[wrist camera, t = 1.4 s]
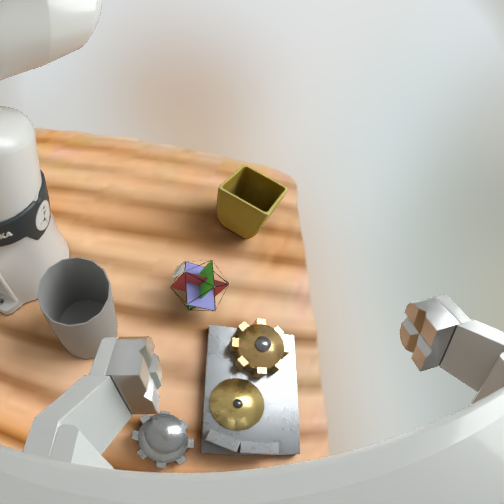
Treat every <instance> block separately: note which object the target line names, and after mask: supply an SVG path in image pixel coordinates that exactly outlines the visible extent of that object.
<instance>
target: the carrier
mask: <svg viewBox="0 0 504 504" xmlns="http://www.w3.org/2000/svg"><path fill="white" fill-rule="evenodd" d="M236 329H237V328H231V327H224V326H217V325H211V324H209V327H208V334H207V348H206V362H205V376H204V392H203V410H202V430H201V453H208V454H224V455H296V454H300V442H299V417H298V396H297V377H296V360H295V344H294V335H287V334H282V335H281V338H282V340H283V343H285V344H289V345H290V353H289V354H288V355H286V356H285V357H282V358H281V360H282V361H283V362H284V363H285V365H284V366H283V367H282V368H281V369H280V370H278V371H277V372H276V373H275V374H273V373H272V372H271V371H270V370H268V371H267V374H266V375H265V376H264V377H263V378H253V371H250V370H248V369H246V368H243V369H242V370H241V371H239V370H238V369H237V368H236V366H235V365H234V363H235V362H236V361H237V358H236V355H235V353H234V352H229V342H230V341H231V339H232V338H239V337H238V336H237V335H236V334H235V331H236Z"/></svg>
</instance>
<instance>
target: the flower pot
mask: <svg viewBox="0 0 504 504" xmlns="http://www.w3.org/2000/svg"><path fill="white" fill-rule="evenodd" d="M286 192H287V187H285V186H284V185H282V184H280V183H278V182H276V181H275V180H273V179H271V178H269V177H267V176H265V175H264V174H262V173H260V172H258V171H256V170H255V169H253V168H251V167H249V166H246V165H242V166H241V167H240V168H239V169H238V170H237V171H236V172H235V173H234V174H233V175H232V176H231V177H229V178H228V179H227V180H226V181H224V182H223V183H222V184H221V185H220V186H219V188H218V197H217V206H216V211H217V216H218V218H219V220H220V222H221V224H222V225H223V226H224V227H226V228H228V229H229V230H231V231H233V232H234V233H236V234H238V235H239V236H241V237H243V238H245V239H249V238H251V237H253V236H255V235H256V234H257V233H258V231H259V230H260V229H261V227H262V226H263V225H264V223H265V222H266V220H267V219H268V218H269V217H270V215H271V214H272V213H273V211H274V210H275V209H276V207H277V206H278V204H279V203H280V201H281V200H282V198H283V196H284V195H285V193H286Z"/></svg>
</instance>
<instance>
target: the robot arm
mask: <svg viewBox="0 0 504 504" xmlns="http://www.w3.org/2000/svg"><path fill="white" fill-rule="evenodd" d="M101 8H102V0H0V80H3V79H5V78H8V77H11V76H13V75H17V74H19V73H22V72H25V71H28V70H31V69H35V68H38V67H41V66H43V65H45V64H47V63H50V62H52V61H54V60H56V59H58V58H61V57H63V56H65V55H67V54H69V53H71V52H73V51H76V50H78V49H80V48H81V47H83V46H84V44H85V43H86V42H87V41H88V39H89V38H90V36H91V35H92V33H93V31H94V30H95V28H96V26H97V23H98V21H99V18H100V14H101ZM67 258H69V249H68V245H67V242H66V240H65V239H64V237H63V236H62V234H61V233H60V231H59V229H58V227H57V225H56V223H55V220H54V217H53V215H52V214H51V211H50V202H49V196H48V191H47V186H46V182H45V177H44V174H43V172H42V171H41V170H40V166H39V159H38V152H37V145H36V137H35V130H34V127H33V124H32V122H31V120H30V119H29V118H28V117H27V116H26V115H25V114H24V113H23V112H21V111H19V110H17V109H14V108H10V107H5V106H0V312H2V313H3V314H5V315H10V314H12V313H13V312H15V311H16V310H17V309H18V308H19V307H21V306H22V305H23V304H25V303H27V302H30V301H33V300H36V299H38V297H37V293H38V287H39V282H40V279H41V278H42V276H43V275H44V274H45V272H46V271H47V269H48V268H49V267H51V266H52V265H54V264H55V263H57V262H59V261H60V260H62V259H67ZM2 301H3V303H2V304H1V302H2ZM405 314H406V316H407V318H406V319H405V320H404V321H403V322H402V324H401V329H400V338H401V341H402V344H403V346H404V347H405V349H406V350H408V351H410V352H412V359H413V361H414V363H415V364H416V366H417V367H418V369H419V371H424V370H427V369H430V368H433V367H437V366H440V367H441V368H442V369H444V370H445V371H447V372H449V373H450V374H451V375H453V376H454V377H456V378H458V379H459V380H461V381H462V382H463V383H465V384H466V385H468V386H470V387H471V388H473V389H474V390H475V391H477V392H478V393H477V394H476V396H475V397H474V399H473V400H472V403H471V405H469V406H467V407H465V408H463V409H461V410H459V411H457V412H455V413H453V414H451V415H449V416H446V417H444V418H442V419H440V420H437V421H435V422H433V423H430V424H428V425H425V426H423V427H420V428H418V429H415V430H413V431H410V432H407V433H405V434H402V435H399V436H396V437H393V438H390V439H387V440H384V441H382V442H378V443H375V444H372V445H368V446H365V447H361V448H358V449H354V450H351V451H347V452H343V453H339V454H335V455H331V456H326V457H322V458H317V459H313V460H308V461H302V462H297V463H291V464H285V465H279V466H272V467H265V468H257V469H247V470H237V471H224V472H203V473H160V472H140V471H127V470H117V469H114V468H113V467H112V465H111V464H110V463H109V462H108V461H107V460H106V459H105V458H104V457H103V456H102V453H103V452H104V451H105V450H106V448H107V447H108V446H109V444H110V443H111V442H112V441H113V439H114V438H115V437H116V436H117V434H118V433H119V432H120V430H121V429H122V428H123V427H124V425H125V424H126V423H127V421H128V420H129V419H130V418H131V416H132V415H131V414H158V409H159V401H160V396H159V393H158V391H157V389H158V388H159V387H160V386H161V383H162V369H161V364H160V360H159V357H158V356H157V355H155V354H154V353H153V352H154V343H153V341H152V338H151V337H149V336H147V337H105V338H103V339H102V340H101V343H100V345H99V348H98V351H97V354H96V356H95V359H94V362H93V365H92V368H91V371H90V373H89V375H84V376H83V377H82V378H81V379H80V380H78V381H77V382H76V383H75V384H74V385H73V386H71V387H70V388H69V389H68V390H67V391H65V392H64V393H63V394H62V395H61V396H60V397H58V398H57V399H56V400H55V401H54V402H52V403H51V404H50V405H49V406H48V407H47V408H45V409H44V410H43V411H42V412H41V413H40V414H38V415H37V416H36V417H35V418H34V420H33V423H32V426H31V429H30V432H29V435H28V438H27V441H26V444H25V447H24V450H23V451H19V450H16V449H13V448H10V447H6V446H3V445H0V504H504V332H502V331H499V330H497V329H495V328H492V327H490V326H488V325H485V324H483V323H481V322H478V321H476V320H470V319H469V318H468V317H467V316H466V315H465V314H464V313H463V312H462V310H461V309H460V308H459V307H458V306H457V305H456V304H455V303H454V302H453V301H452V300H451V299H450V298H449V297H448V296H446V295H444V294H443V295H439V296H435V297H432V298H428V299H425V300H420V301H415V302H410V303H409V304H408V305H407V307H406V310H405Z"/></svg>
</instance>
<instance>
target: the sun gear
mask: <svg viewBox="0 0 504 504" xmlns="http://www.w3.org/2000/svg"><path fill="white" fill-rule="evenodd" d="M283 333H284V332H283V331H282V330H281V329H280V328H279V327H278V326H277V327H276V328H274V329H273V328H272V327H270V326H267V325H266V320H265V319H258V318H257V319H256V321H255V322H254V324H253V325H250V326H249V325H248V324H247V323H246V322H243V323H242V324H241V325H239V326H238V328H237V329H236V331H235V334H236V335H237V336H238V337H239V338H232V339H231V341H230V342H229V352H234V353H235V355H236V358H237V361H236V362H235V363H234V365H235V366H236V368H237V369H238V370H239V371H241V370H242V369H243V368H246V369H248V370H250V371H253V378H263V377H264V376H265V375H266V374H267V371H268V370H270V371H271V372H272V373H273V374H275V373H276V372H277V371H278V370H280V369H281V368H282V367H283V366H284V365H285V363H284V362H283V361H282V360H281V358H282V357H285V356H286V355H288V354H289V353H290V345H289V344H285V343H283V340H282V338H281V335H282V334H283Z"/></svg>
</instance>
